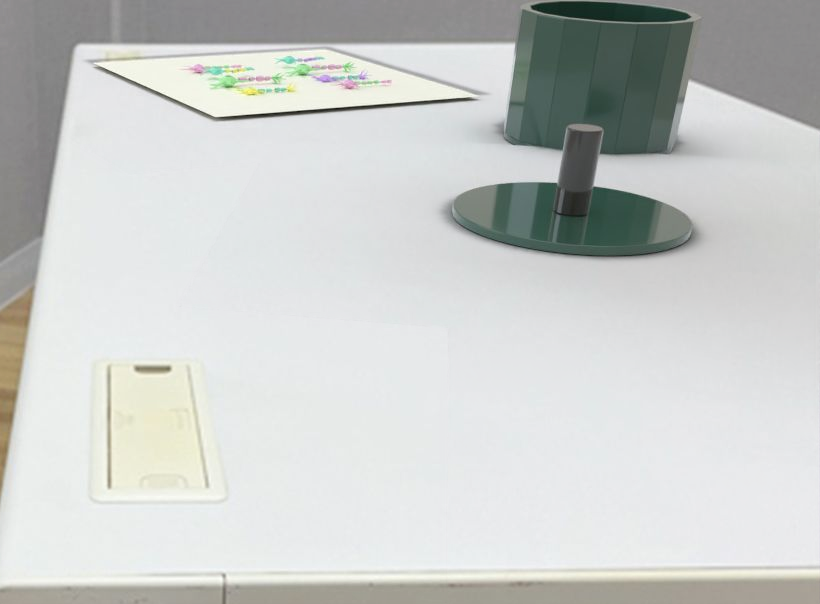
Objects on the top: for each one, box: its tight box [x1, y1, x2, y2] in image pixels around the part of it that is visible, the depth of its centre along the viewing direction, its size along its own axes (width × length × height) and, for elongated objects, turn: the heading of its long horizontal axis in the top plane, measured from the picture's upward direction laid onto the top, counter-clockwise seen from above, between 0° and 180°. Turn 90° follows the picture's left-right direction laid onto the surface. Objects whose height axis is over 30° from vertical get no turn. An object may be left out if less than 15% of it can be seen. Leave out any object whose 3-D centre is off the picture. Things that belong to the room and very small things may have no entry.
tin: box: [503, 0, 703, 155], centre depth 104 cm, size 15×15×10 cm
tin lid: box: [451, 124, 693, 257], centre depth 81 cm, size 16×16×7 cm
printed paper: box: [93, 49, 479, 118], centre depth 127 cm, size 30×30×2 cm
